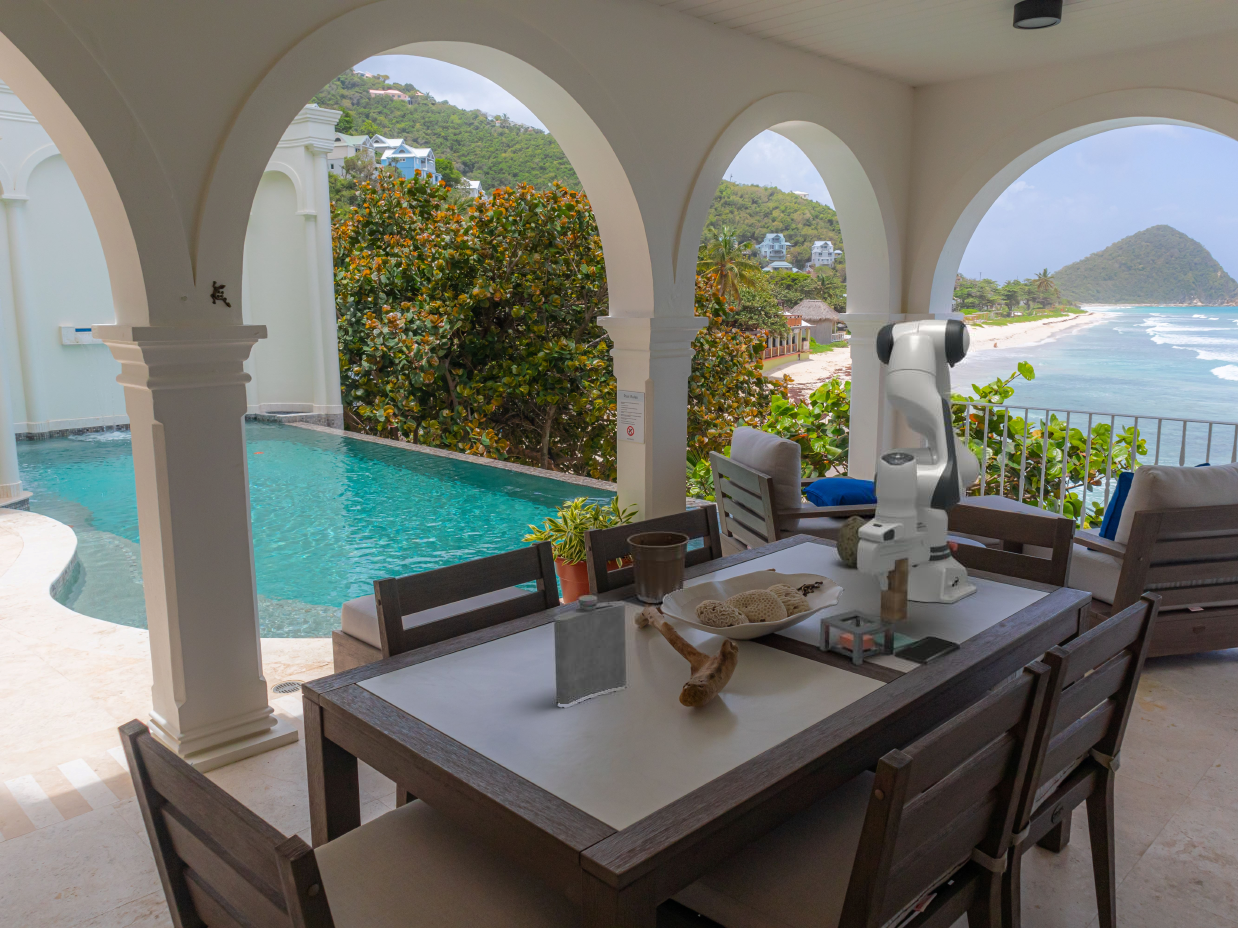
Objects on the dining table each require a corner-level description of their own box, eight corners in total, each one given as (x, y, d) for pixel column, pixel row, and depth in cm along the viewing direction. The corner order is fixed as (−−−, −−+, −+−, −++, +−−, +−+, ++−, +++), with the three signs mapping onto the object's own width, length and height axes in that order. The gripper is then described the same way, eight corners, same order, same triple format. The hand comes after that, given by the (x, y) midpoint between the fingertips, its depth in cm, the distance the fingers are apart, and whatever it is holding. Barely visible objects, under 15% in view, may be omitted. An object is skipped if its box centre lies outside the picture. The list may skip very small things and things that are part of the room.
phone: (961, 644, 194) (925, 662, 184) (961, 649, 194) (925, 667, 184) (929, 635, 200) (892, 652, 190) (928, 640, 200) (892, 656, 190)
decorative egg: (833, 560, 265) (834, 512, 262) (870, 561, 263) (871, 512, 261) (838, 570, 254) (840, 520, 252) (877, 571, 253) (878, 520, 251)
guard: (855, 639, 200) (855, 609, 199) (893, 653, 191) (894, 623, 190) (819, 649, 194) (820, 618, 193) (857, 665, 185) (858, 633, 184)
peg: (892, 614, 200) (894, 554, 198) (906, 618, 197) (908, 558, 195) (880, 617, 198) (882, 557, 196) (894, 622, 195) (896, 560, 193)
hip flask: (562, 709, 166) (559, 608, 163) (551, 702, 170) (547, 603, 167) (629, 687, 176) (627, 591, 173) (617, 681, 179) (615, 586, 176)
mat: (890, 632, 204) (890, 630, 204) (918, 642, 197) (918, 640, 197) (866, 639, 200) (866, 637, 200) (894, 649, 193) (894, 647, 193)
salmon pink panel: (855, 639, 196) (856, 630, 196) (873, 646, 192) (874, 637, 191) (839, 644, 193) (839, 635, 193) (857, 651, 189) (857, 641, 188)
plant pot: (616, 601, 230) (615, 541, 228) (647, 585, 244) (646, 528, 241) (671, 611, 222) (670, 549, 219) (700, 593, 235) (699, 535, 233)
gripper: (915, 518, 202) (913, 576, 205) (852, 530, 192) (851, 591, 194) (938, 523, 197) (936, 582, 199) (875, 535, 186) (873, 598, 189)
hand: (893, 587), depth 196 cm, fingers closed on peg, 4 cm apart
